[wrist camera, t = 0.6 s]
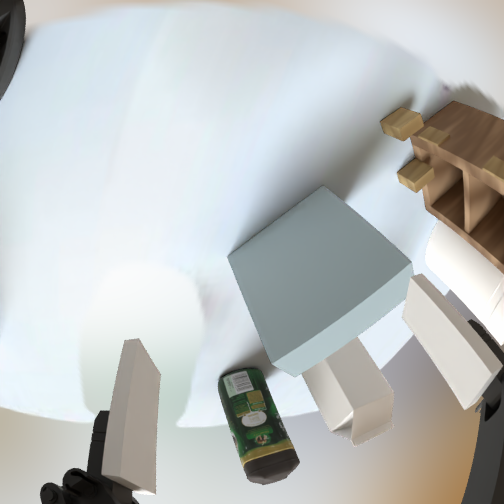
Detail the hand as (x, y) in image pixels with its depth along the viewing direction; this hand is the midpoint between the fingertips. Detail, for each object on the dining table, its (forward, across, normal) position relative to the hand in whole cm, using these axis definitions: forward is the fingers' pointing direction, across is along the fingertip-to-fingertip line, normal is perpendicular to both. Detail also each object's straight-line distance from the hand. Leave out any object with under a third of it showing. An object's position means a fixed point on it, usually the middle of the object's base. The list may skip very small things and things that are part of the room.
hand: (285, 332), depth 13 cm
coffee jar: (+20, -6, -30) cm, 37 cm away
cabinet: (+19, +25, +2) cm, 31 cm away
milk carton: (+20, +8, -24) cm, 32 cm away
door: (+17, +4, -4) cm, 18 cm away
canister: (+23, +36, -13) cm, 45 cm away
